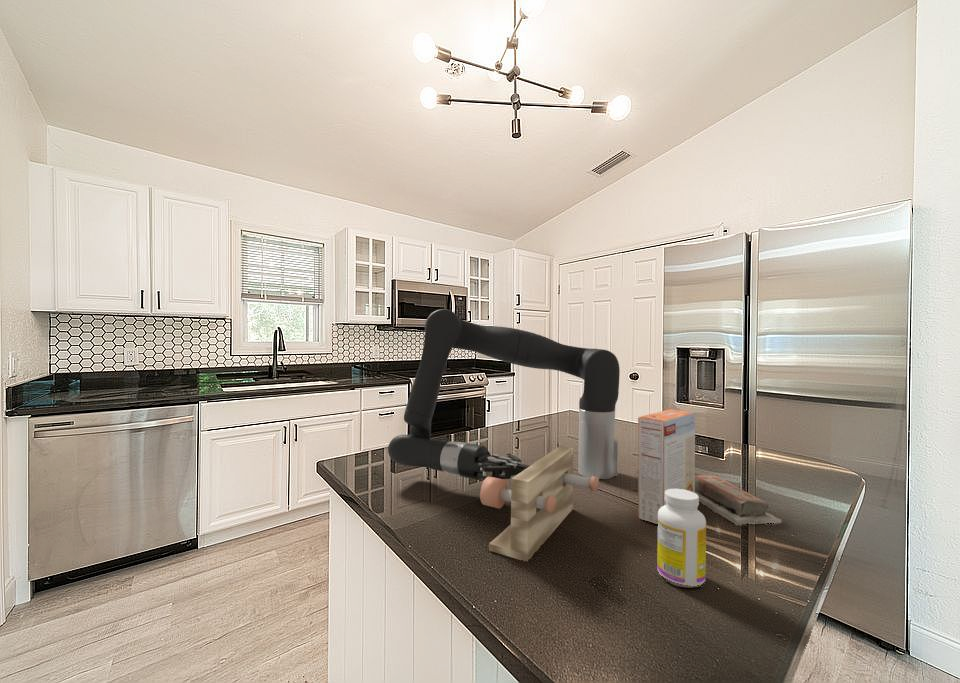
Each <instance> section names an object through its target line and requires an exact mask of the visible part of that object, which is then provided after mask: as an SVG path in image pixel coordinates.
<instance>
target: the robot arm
mask: <svg viewBox="0 0 960 683" xmlns="http://www.w3.org/2000/svg"><path fill="white" fill-rule="evenodd" d="M423 341H424V342H423V348H422V352H421V357H420V362H419V366H418V367H417V368H418V369H417V372H416V375H415V378H414V380H413V384H412V386H411V389H410V393H409V395H408V396H409V397H408V399H407V403H406V407H405V410H404V414H403V420H404V422H405V423H406V424H408V425H409V434H399V435H396V436H394V437H393V438H392V439H391V440H390V442H389V444H388V446H387V452H388V453H387V454H388V457H389V458H390V459H391V460H392V461H393V462H394V463H395V464H398V465H401V466H409V467H419V468H428V469H432V470H435V471H440V472H444V473H447V474H450V475H454V476H456V477H457V476H458V477H462V478H467V479H469V480H472V479H473V480H477V481H481V480H483V481H484V480H485V478H486V477H494V478H499V479H504V480H510V479H512V478H513V477H515V476H516V475H518V474H519V473H521V472H522V471H524V470H525V469H526V468H528V467H529V466H531V465H528V464H525V463H524V464H523V463H522V459H520V458H519V457H517V456H515V455H513V454H512V453H506V456H503V455H501V454H500V453H499V454H498V453H493V454H491V453H490V451H489V449H488V447H486V446H485V445H480V444H474V443H469V442H462V441H450V440H443V439H431V438H432V437H431V436H432V435H431V434H432V420H433V415H434V413H435V409H436V405H437V402H438V398H439V393H440V388H441V383H442V379H443V374H444V371H445V368H446V364H447V362H448V359H449V356H450V353H451V351H452V349H457V350H464V351H465V350H466V351H470V352H475V353H478V354H481V355H483V356H487V357H489V358H492V359H495V360H499V361H502V362H504V363H509V364H512V365H517V366H520V367H525V368H529V369H536V370H537V369H538V370H551V371H557V372H562V373H565V374H568V375H570V376H574V377H576V378H580V379H581V380H583V393H582V396H581V397H579V403H578V460H577V461H578V462H577V466H578V468H577V469H578V470H577V472H578V474H579V476H583V477H589V478H591V477H592V476H596V477H598V478H599V480H608V479H612V478H614V477H618V470H619V469H618V468H619V466H618V464H619V458H618V456H619V440H618V439H617V438H616V405H617V401H618V400H619V399H618V398H619V393H620V392H619V390H620V376H621V375H620V374H621V373H620V372H621V371H620V363H619V360H618V358H617V356H616V355H615V354H614V353H613V352H612V351H610V350H608V349H601V348H587V347H579V346H573V345H567V344H564V343H559V342H558V341H555V340H554V339H551V338H549V337H546V336H544V335H541V334H538V333H535V332H532V331H527V330H522V329H518V328H514V327H506V326H498V325H497V326H495V325H493V326H492V325H483V324H477V323H473V322H470V321H467V320H464V319H461V318H459V317H458V315H457V314H456V313H455V312H453V311H452V310H450V309H447V308H440V309H436V310H435V311H433V312H431V313H430V314H429V315H428V317H427V318H426V319H425V323H424V340H423Z"/></svg>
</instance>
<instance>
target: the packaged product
mask: <svg viewBox="0 0 960 683" xmlns="http://www.w3.org/2000/svg"><path fill="white" fill-rule="evenodd" d="M695 494H697V495H698V496H699V502H701V503H703V504H704V505H706V506H707V507H709V508H711V509H712V510H714V511H716V512H718V513H719V514H720V515H722V516H724V517H725V518H727V519H728V520H730V521H732V522H734V523H737V524H747V523H766V524H765V525H776V524H775V523H781V524H782V519H781V518H778V517H775V515H773V514H771V513H769V512H767V510H768V508H769V504H768V503H767V502H766V501H764V500H762V499H760V498H758V497H756V496H754V495H752V494H751V493H749V492H747V491H745V490H743V489H741V488H740V487H737V486H736V485H734V484H732V483H730V482H728V481H726V480H724V479H722V478H721V477H719V476H716V475H713V474H698V475H695ZM701 503H700V504H701ZM704 505H703V506H704ZM707 507H706V508H707ZM767 523H769V524H767ZM770 523H772V524H770ZM773 523H774V524H773Z"/></svg>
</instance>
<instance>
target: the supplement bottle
mask: <svg viewBox="0 0 960 683" xmlns="http://www.w3.org/2000/svg"><path fill="white" fill-rule="evenodd" d="M665 501H666V505H664V506H662V507H661V508H660V509H659V511H658V526H657V547H656V548H657V550H656V551H657V554H656V556H657V557H656V559H657V561H656V562H657V564H656V567H657V568H656V569H657V572H659V573H658V575H659V574H660V575H661V576H663V577H664V578H666V579H668V580H670V581H672V582H675V583H679V584H683V585H688V586H689V585H690V586H697V585H701V584H703V583H704V582H706V573H707V571H706V570H707V519H706V517H705V515H704V514H703V513H702V512H701V511H700V510H699V509H698V507H699V505H700V503H699V496H698V495H697V494H695V493H693V492H691V491H688V490H683V489H667V490H666V491H665ZM660 575H659V576H660ZM661 576H660V577H661ZM704 584H705V583H704Z"/></svg>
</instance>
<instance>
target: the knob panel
mask: <svg viewBox="0 0 960 683" xmlns="http://www.w3.org/2000/svg"><path fill="white" fill-rule="evenodd" d="M536 461H537V462H535V461H534V462H535V463H534V462H533V463H534V464H533V463H532V464H531V465H530V466H529V467H528V468H526V469H525V470H524V471H522V472H521V473H519V474H518V475H516V476H515V477H511V482H510V483H511V487H510V488H511V489H510V490H511V502H510V503H511V504H510V524H509V525H508V526H507V527H506V528H505V529H504V530H503V531H502V532H501V533H499V534H498V535H497V536H496V537H495V538H494V539H493V540H491V541H490V542H489V543H488V551H489V552H493V553H497V554H498V555H502V556H506V557H509V558H513V559H516V560H519V561H522V560H523V561H522V562H525V561H527V562H526V563H528V562H529V561H530V560H531V559H532V557H533V556H534V555H535V554H536V553H537V551H538V550H539V549H540V548H541V547H540V546H541V545H544V543H545V542H546V541H547V540H548V538H549V537H550V536H551V535H552V534H553V533H554V532H555V530H557V528H558V527H559V525H561V523H562V522H563V521H564V520H565V519H566V518H567V516H568V515H569V514H570V513H571V512H572V511H573V509H574V508H573V506H574V505H573V504H574V503H573V501H574V497H573V496H574V485H569V484H564V483H563V473H567V474H572V475H574V447H568V446H562V445H559V446H558V447H556V448H555V449H553V450H551V451H550V452H549V453H547V454H546V455H544V456H543V457H541V458H539V459H538V460H536ZM537 496H542V497H546V498H547V496H554V497H555V498H556V509H555V512H554V513H553V514H549V513H546V512H545V510H543V509H539V508H536V499H537ZM535 552H536V553H535ZM534 553H535V554H534ZM533 554H534V555H533ZM529 559H530V560H529ZM528 560H529V561H528Z"/></svg>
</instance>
